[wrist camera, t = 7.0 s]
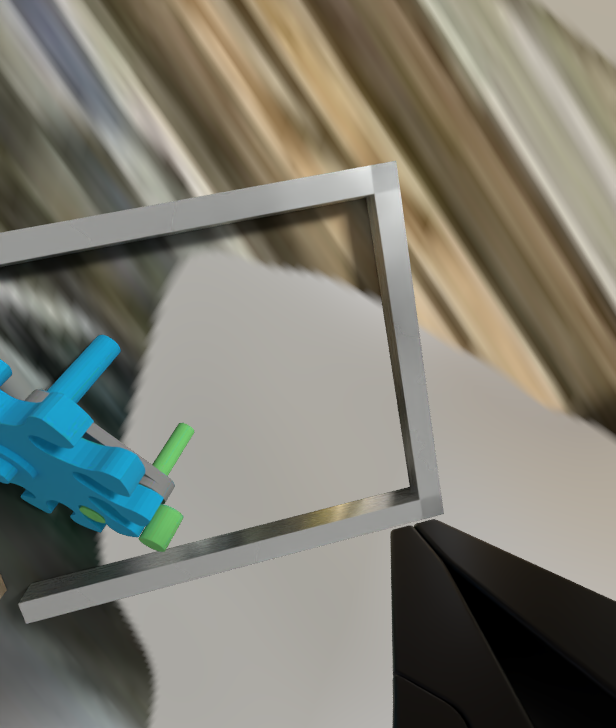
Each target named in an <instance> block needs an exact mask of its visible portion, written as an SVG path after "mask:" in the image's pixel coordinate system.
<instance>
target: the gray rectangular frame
mask: <svg viewBox="0 0 616 728" xmlns="http://www.w3.org/2000/svg"><path fill="white" fill-rule="evenodd" d="M363 198H366V201H367V208H368V215H369V221H370V228H371V234H372V241H373V247H374V254H375V260H376V267H377V274H378V280H379V287H380V293H381V300H382V306H383V313H384V319H385V326H386V333H387V338H388V345H389V352H390V359H391V365H392V372H393V378H394V385H395V392H396V398H397V405H398V411H399V417H400V424H401V431H402V437H403V444H404V451H405V457H406V464H407V470H408V477H409V483H410V487H408V488H404V489H400V490H396V491H392V492H388V493H384V494H381V495H376V496H373V497H368V498H365V499H361V500H357V501H353V502H349V503H345V504H341V505H337V506H333V507H329V508H326V509H321V510H318V511H314V512H310V513H306V514H302V515H298V516H294V517H290V518H287V519H282V520H278V521H275V522H271V523H267V524H263V525H259V526H255V527H251V528H247V529H243V530H239V531H236V532H231V533H228V534H224V535H220V536H216V537H212V538H208V539H204V540H200V541H196V542H192V543H188V544H185V545H181V546H177V547H173V548H169V549H166V550H165V552H159V551H157V552H153V553H149V554H145V555H142V556H138V557H134V558H130V559H126V560H122V561H118V562H114V563H110V564H106V565H102V566H98V567H94V568H90V569H87V570H83V571H79V572H75V573H71V574H67V575H63V576H59V577H55V578H51V579H47V580H44V581H40V582H36V583H32V584H30V586H29V587H28V589H27V590H26V592H25V594H24V595H23V597H22V598H21V600H20V601H19V603H18V605H19V607H20V610H21V612H22V615H23V617H24V620H25V622H26V624H27V623H31V622H35V621H39V620H43V619H46V618H50V617H54V616H58V615H62V614H65V613H69V612H73V611H77V610H81V609H84V608H88V607H92V606H96V605H100V604H103V603H107V602H111V601H115V600H119V599H122V598H126V597H130V596H134V595H137V594H141V593H145V592H149V591H153V590H156V589H160V588H164V587H168V586H171V585H175V584H179V583H183V582H187V581H190V580H194V579H198V578H202V577H206V576H210V575H213V574H217V573H221V572H224V571H229V570H232V569H236V568H240V567H244V566H248V565H251V564H255V563H259V562H263V561H266V560H270V559H274V558H278V557H282V556H286V555H289V554H293V553H297V552H301V551H305V550H308V549H312V548H316V547H320V546H324V545H327V544H331V543H335V542H339V541H342V540H346V539H350V538H354V537H358V536H362V535H365V534H369V533H373V532H376V531H380V530H384V529H388V528H392V527H396V526H400V525H403V524H407V523H411V522H414V521H418V520H422V519H426V518H430V517H433V516H437V515H441V514H444V513H443V506H442V498H441V490H440V483H439V475H438V468H437V460H436V453H435V446H434V438H433V432H432V423H431V416H430V409H429V401H428V393H427V386H426V379H425V372H424V364H423V356H422V349H421V342H420V334H419V327H418V319H417V312H416V305H415V297H414V290H413V282H412V275H411V268H410V260H409V253H408V245H407V238H406V230H405V223H404V216H403V208H402V201H401V193H400V186H399V179H398V171H397V164H396V161H392V162H387V163H381V164H376V165H370V166H365V167H359V168H354V169H348V170H343V171H337V172H332V173H326V174H321V175H315V176H310V177H304V178H299V179H293V180H288V181H282V182H277V183H271V184H266V185H260V186H255V187H249V188H244V189H238V190H233V191H228V192H222V193H217V194H211V195H206V196H200V197H195V198H189V199H184V200H178V201H173V202H167V203H162V204H156V205H151V206H145V207H140V208H134V209H129V210H123V211H118V212H112V213H107V214H101V215H96V216H90V217H85V218H79V219H74V220H69V221H63V222H58V223H52V224H47V225H41V226H36V227H30V228H25V229H19V230H14V231H8V232H3V233H0V267H4V266H9V265H14V264H19V263H25V262H30V261H35V260H41V259H46V258H51V257H56V256H62V255H67V254H72V253H78V252H83V251H88V250H93V249H99V248H104V247H109V246H115V245H120V244H125V243H130V242H136V241H141V240H146V239H151V238H157V237H162V236H167V235H173V234H178V233H183V232H188V231H194V230H199V229H204V228H210V227H215V226H220V225H225V224H231V223H236V222H241V221H247V220H252V219H257V218H262V217H268V216H273V215H278V214H284V213H289V212H294V211H299V210H305V209H310V208H315V207H320V206H326V205H331V204H336V203H342V202H347V201H352V200H357V199H363Z"/></svg>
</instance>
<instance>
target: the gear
mask: <svg viewBox="0 0 616 728" xmlns="http://www.w3.org/2000/svg"><path fill="white" fill-rule="evenodd" d="M120 351H121V350H120V347H119V345H118V344H117V343H116V342H115V341H114V340H112V339H111V338H109V337H107V336H105V335H99V336H97V337H96V338H95V340H94V341H93V342H92V343H91V344H90V345H89V346H88V347H87V348H86V349H85V350H84V351H83V352H82V354H81V355H80V356H79V357H78V358H77V359H76V360H75V361H74V362H73V363H72V364H71V365H70V367H69V368H68V369H67V370H66V371H65V372H64V373H63V374H62V375H61V376H60V377H59V378H58V379H57V381H56V382H55V383H54V384H53V385H52V386H51V387H50V388H49V389H48V390H47V391H44V390H34V391H33V392H32V393H31V394H30V396H29V397H28V398H27V399H26V400H25V401H22V400H18V399H15V398H13V397H11V396H9V395H8V394H6V393H5V392H3V391H2V390H1V389H0V482H2V483H5V484H8V483H9V482H10V483H13V484H17V485H19V486H21V487H23V488H25V489H26V490H25V491H24V493H23V494H22V495H21V498H22V499H23V500H25V501H26V502H28V503H30V504H32V505H33V506H35V507H37V508H39V509H41V510H43V511H45V512H47V513H51V512H52V511H53V510H54V508H55V507H56V506H57V504H58V503H59V502H60V503H62V504H64V505H66V506H67V507H69V508H70V509H72V510H73V511H74V512H73V513H72V514H71V516H70V517H71V518H72V520H74V521H75V522H76V523H78V524H80V525H82V526H84V527H87V528H89V529H92V530H94V531H97V532H100V533H101V532H102V530H103V529H104V527H105V526H106V524H107V525H108V526H109V527H110V528H111V529H113V530H114V531H116V532H118V533H120V534H123V535H126V536H132V537H139V536H140V537H139V540H140V541H141V542H142V543H143V544H145V545H146V546H148V547H150V548H152V549H154V550H157V551H159V552H165V550H166V548H167V547H168V545H169V543H170V541H171V539H172V538H173V536H174V534H175V532H176V530H177V528H178V527H179V525H180V523H181V521H182V519H183V515H182V514H181V513H180V512H178V511H177V510H175V509H174V508H171V507H169V506H167V505H163V504H165V502H166V500H167V499H168V497H169V495H170V494H171V492H172V490H173V489H174V487H175V485H174V482H173V481H172V480H171V479H170V478H169V477H168V474H169V473H170V471H171V469H172V468H173V466H174V465H175V463H176V461H177V460H178V458H179V456H180V455H181V453H182V452H183V450H184V448H185V447H186V445H187V443H188V442H189V440H190V438H191V437H192V435H193V434H194V430H193V428H192V427H190V426H188V425H187V424H184V423H179V424H178V426H177V427H176V429H175V430H174V432H173V433H172V435H171V437H170V438H169V440H168V441H167V443H166V444H165V446H164V447H163V449H162V450H161V452H160V454H159V455H158V457H157V459H156V460H155V461H154V463H153V464H152V465H151V464H150V463H149V462H147V461H146V460H144V459H143V458H142V457H140V456H139V455H138V454H136V453H135V452H134V451H132V450H131V449H129V448H128V447H126V446H125V445H124V444H122V443H121V442H120V441H118V440H117V439H116V438H114V437H113V436H111V435H110V434H109V433H107V432H106V431H104V430H103V429H102V428H100V427H99V426H98V425H96V424H95V423H93V422H94V421H93V420H92V419H91V417H90V416H89V415H88V414H87V413H86V412H85V411H84V410H83V409H82V408H81V407H79V406H78V405H77V402H78V401H79V400H80V399H81V398H82V397H83V395H84V394H85V393H86V392H87V391H88V390H89V388H90V387H91V386H92V385H93V384H94V383H95V381H96V380H97V379H98V378H99V377H100V375H101V374H102V373H103V372H104V371H105V370H106V368H107V367H108V366H109V365H110V364H111V363H112V361H113V360H114V359H115V358H116V357H117V355H118V354H119V353H120ZM11 375H12V370H11V368H10V367H9V365H7V364H6V363H5V362H3V361H2V360H1V359H0V386H1V385H2V384H3V383H4V382H5V381H6V380H7V379H8V378H9V377H10V376H11ZM145 526H146V527H145ZM144 527H145V529H144ZM143 529H144V530H143ZM142 531H143V532H142ZM141 532H142V534H141ZM140 534H141V535H140Z"/></svg>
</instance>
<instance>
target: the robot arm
mask: <svg viewBox="0 0 616 728" xmlns="http://www.w3.org/2000/svg"><path fill="white" fill-rule="evenodd" d="M391 585H392V586H391V589H392V646H393V728H616V601H613V600H612V599H609V598H607V597H605V596H603V595H600V594H598V593H596V592H594V591H592V590H590V589H587V588H585V587H583V586H581V585H578V584H576V583H574V582H572V581H570V580H567V579H565V578H563V577H561V576H559V575H556V574H554V573H552V572H550V571H548V570H545V569H543V568H541V567H539V566H537V565H534V564H532V563H530V562H528V561H526V560H524V559H522V558H519V557H517V556H515V555H512V554H511V553H508V552H506V551H504V550H502V549H500V548H497V547H495V546H493V545H491V544H489V543H486V542H484V541H482V540H480V539H478V538H475V537H473V536H471V535H469V534H467V533H464V532H462V531H460V530H458V529H456V528H453V527H451V526H449V525H447V524H445V523H442V522H440V521H438V520H435V519H433V520H428V521H425V522H421V523H417V524H415V525H414V527H413V526H406V527H402V528H398V529H394V530H392V531H391Z"/></svg>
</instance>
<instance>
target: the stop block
mask: <svg viewBox="0 0 616 728" xmlns="http://www.w3.org/2000/svg"><path fill="white" fill-rule="evenodd" d="M6 590H7V589H6V587H5V584H4V582H3V579H2V577H1V574H0V599H1V597H2V596H3V595H4V593H5V592H6Z"/></svg>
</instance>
